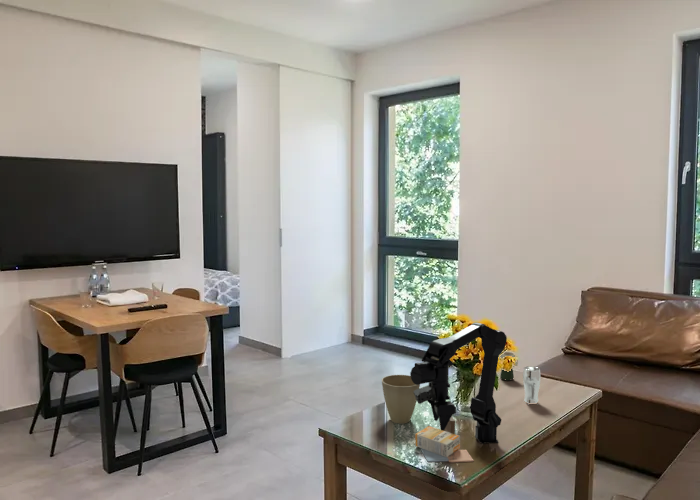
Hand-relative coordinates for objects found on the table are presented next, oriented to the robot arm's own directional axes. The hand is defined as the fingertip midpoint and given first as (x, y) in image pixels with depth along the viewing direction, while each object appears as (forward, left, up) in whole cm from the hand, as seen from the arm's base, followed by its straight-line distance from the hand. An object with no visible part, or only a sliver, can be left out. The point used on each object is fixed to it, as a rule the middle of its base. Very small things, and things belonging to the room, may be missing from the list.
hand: (439, 425), depth 182 cm
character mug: (-54, -77, -10) cm, 95 cm away
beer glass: (-52, -45, -10) cm, 69 cm away
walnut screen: (-6, -12, -10) cm, 17 cm away
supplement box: (+4, -9, -7) cm, 12 cm away
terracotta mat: (-6, +2, -10) cm, 12 cm away
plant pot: (+7, -31, -10) cm, 33 cm away
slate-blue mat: (0, 0, -10) cm, 10 cm away
